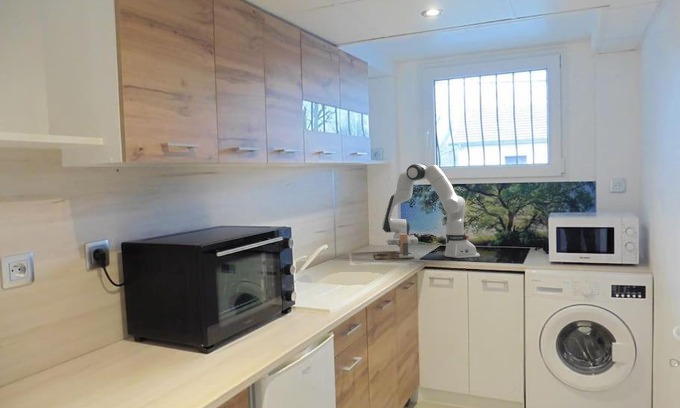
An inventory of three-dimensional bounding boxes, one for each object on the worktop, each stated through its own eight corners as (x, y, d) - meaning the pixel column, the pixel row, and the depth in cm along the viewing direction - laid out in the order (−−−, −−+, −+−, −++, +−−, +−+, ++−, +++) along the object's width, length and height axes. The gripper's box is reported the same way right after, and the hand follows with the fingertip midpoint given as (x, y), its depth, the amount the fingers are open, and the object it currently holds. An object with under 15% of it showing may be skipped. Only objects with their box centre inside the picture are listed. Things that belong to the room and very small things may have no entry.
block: (406, 253, 331) (406, 233, 330) (407, 254, 327) (407, 234, 326) (400, 253, 331) (399, 233, 330) (400, 254, 327) (400, 234, 326)
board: (410, 255, 336) (410, 252, 336) (414, 260, 318) (414, 257, 318) (374, 256, 336) (374, 253, 336) (376, 261, 318) (375, 258, 318)
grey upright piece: (411, 255, 325) (410, 241, 324) (412, 257, 317) (412, 243, 316) (398, 255, 325) (398, 241, 324) (400, 257, 317) (399, 243, 316)
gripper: (385, 236, 341) (387, 238, 327) (416, 235, 341) (419, 237, 327) (386, 245, 342) (387, 248, 328) (416, 244, 342) (419, 247, 328)
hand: (403, 243), depth 328 cm, fingers closed on block, 4 cm apart
